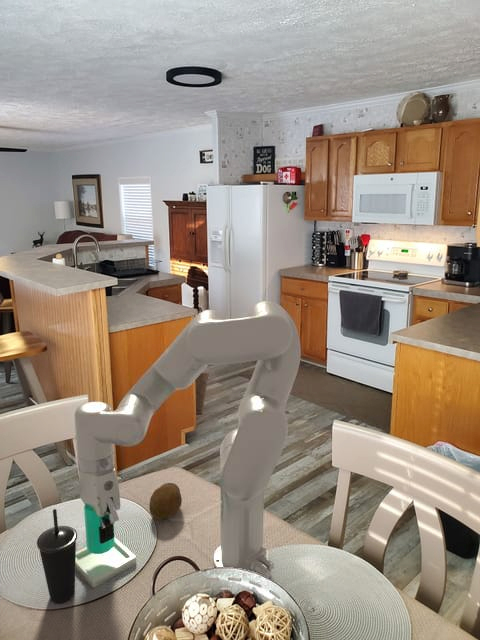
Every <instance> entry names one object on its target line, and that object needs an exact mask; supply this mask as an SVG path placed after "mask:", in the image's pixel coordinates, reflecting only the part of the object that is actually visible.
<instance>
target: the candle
mask: <svg viewBox="0 0 480 640" xmlns="http://www.w3.org/2000/svg"><path fill="white" fill-rule="evenodd" d="M83 508H84V509H83V511H84V523H85V524H84V525H85V526H84V527H85V537H86V539H85V540H86V547H87V549H88V551H89V552H91V553H93V554H103V553H105V552H108V551H110V550H111V549H112V548H113V547H114V543H115V538H116V537H115V538H113V539H111V540H109V541H107V542H105V543H103V544H101V543H100V538H99V527H101V525H100V516H98V515H97V514H96V513H95V511H94V510H91V509H90V508H89V507H88V506H87V505H86V504H84V507H83ZM106 512H107V509H106ZM108 518H109V514H108V515H106V516H104V521H105V520H106V519H108ZM113 525H114V526H115V523H114V524H113Z"/></svg>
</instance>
